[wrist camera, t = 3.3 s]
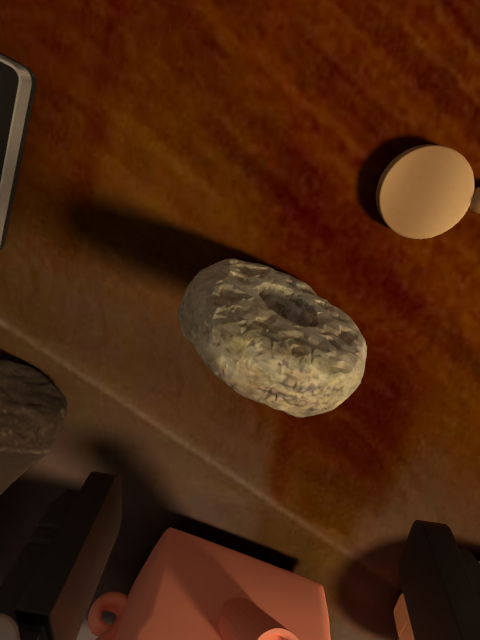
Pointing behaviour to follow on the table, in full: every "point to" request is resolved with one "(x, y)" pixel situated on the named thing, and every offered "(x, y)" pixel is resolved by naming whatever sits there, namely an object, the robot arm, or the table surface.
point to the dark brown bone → (26, 418)
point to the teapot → (211, 598)
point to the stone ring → (272, 337)
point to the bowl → (403, 620)
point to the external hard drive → (12, 130)
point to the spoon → (426, 191)
